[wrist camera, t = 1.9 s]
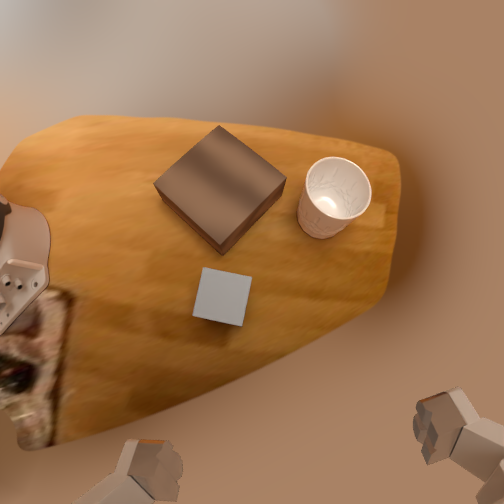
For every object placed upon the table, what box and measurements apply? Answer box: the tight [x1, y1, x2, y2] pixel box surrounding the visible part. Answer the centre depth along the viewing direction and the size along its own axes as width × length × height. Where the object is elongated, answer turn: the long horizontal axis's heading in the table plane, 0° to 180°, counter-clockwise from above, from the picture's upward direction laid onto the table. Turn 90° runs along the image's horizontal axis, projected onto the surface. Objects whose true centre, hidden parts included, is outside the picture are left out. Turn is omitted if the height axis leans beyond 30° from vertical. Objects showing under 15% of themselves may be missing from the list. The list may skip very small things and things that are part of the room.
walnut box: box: [153, 125, 287, 256], centre depth 42 cm, size 12×12×6 cm
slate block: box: [193, 267, 252, 327], centre depth 36 cm, size 5×5×10 cm
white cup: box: [297, 157, 371, 239], centre depth 40 cm, size 8×8×10 cm
